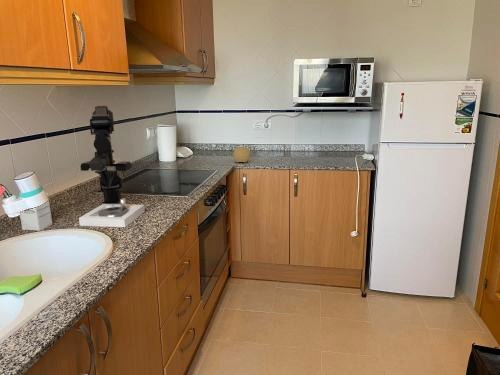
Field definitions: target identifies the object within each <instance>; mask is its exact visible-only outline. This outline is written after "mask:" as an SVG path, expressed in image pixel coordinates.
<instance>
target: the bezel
mask: <svg viewBox="0 0 500 375" xmlns="http://www.w3.org/2000/svg"><path fill="white" fill-rule="evenodd" d="M111 207H121V203H119V204H118V203H102V204H101V205H99V206H97V207H95V208H94V209H92V210H90V211H88V212H87V213H84V215H81V216H80V217H78V222H79V226H80V227H81V226H82V227H104V228H105V227H110V228H114V227H115V228H126V227H127V226H128V225H130V224H132V222H134V221H135V220H136V219H138V218H139V217H140V216H141V215H143V214H144V213H145V212H146V211H145V208H146V206H145V204H135V203H132V204H126V208H127V209H128V213H126V214H125V215H123V216H122V217H102V216H98V212H99V211H101V210H103V209H106V208H111Z"/></svg>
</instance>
